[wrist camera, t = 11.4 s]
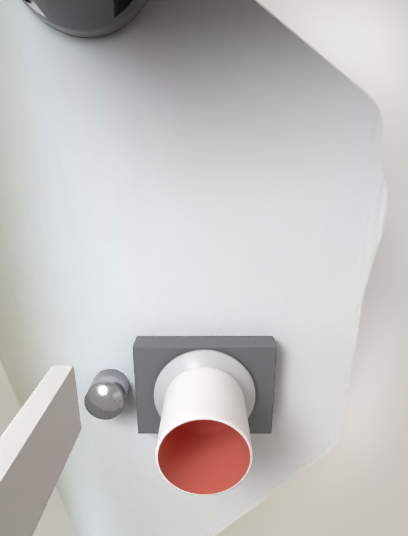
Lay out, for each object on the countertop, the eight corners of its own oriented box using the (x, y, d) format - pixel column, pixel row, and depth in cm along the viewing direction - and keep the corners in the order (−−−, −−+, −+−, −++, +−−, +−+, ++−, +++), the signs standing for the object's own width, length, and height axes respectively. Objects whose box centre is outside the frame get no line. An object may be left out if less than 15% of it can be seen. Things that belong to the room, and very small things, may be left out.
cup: (259, 390, 46) (273, 451, 37) (211, 441, 49) (212, 511, 39) (197, 347, 45) (194, 399, 35) (149, 402, 47) (135, 465, 37)
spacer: (91, 369, 50) (82, 386, 46) (128, 368, 50) (121, 386, 46) (95, 400, 52) (86, 419, 48) (130, 399, 52) (124, 419, 48)
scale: (137, 336, 49) (131, 351, 45) (272, 336, 49) (277, 351, 45) (142, 420, 52) (137, 441, 49) (267, 420, 52) (272, 441, 49)
